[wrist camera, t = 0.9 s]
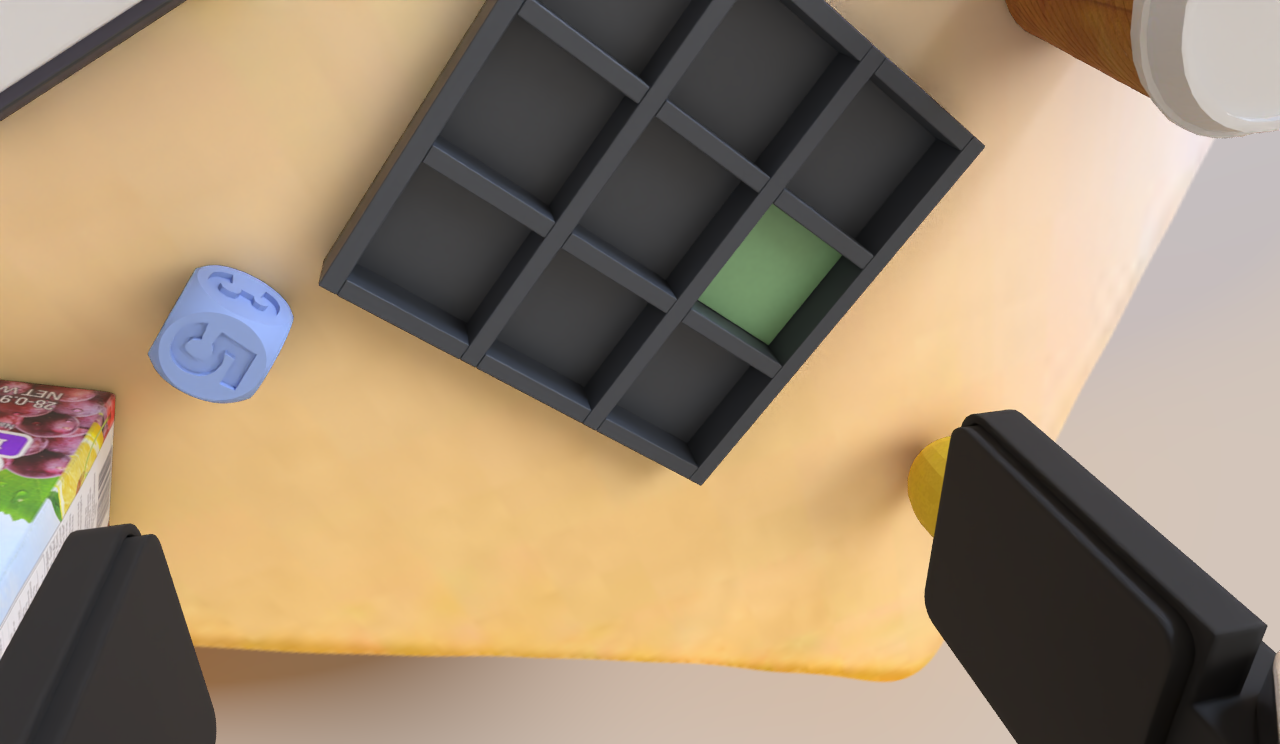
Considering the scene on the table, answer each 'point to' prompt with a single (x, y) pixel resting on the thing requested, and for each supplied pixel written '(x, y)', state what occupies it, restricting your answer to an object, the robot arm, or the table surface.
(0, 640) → the snack box
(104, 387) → the table surface
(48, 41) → the calculator
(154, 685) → the robot arm
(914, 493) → the lemon
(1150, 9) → the disposable coffee cup
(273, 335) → the decorative dice
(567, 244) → the grid tray
